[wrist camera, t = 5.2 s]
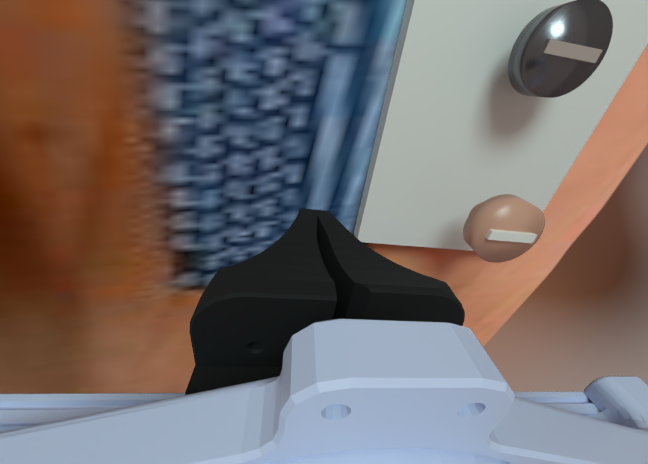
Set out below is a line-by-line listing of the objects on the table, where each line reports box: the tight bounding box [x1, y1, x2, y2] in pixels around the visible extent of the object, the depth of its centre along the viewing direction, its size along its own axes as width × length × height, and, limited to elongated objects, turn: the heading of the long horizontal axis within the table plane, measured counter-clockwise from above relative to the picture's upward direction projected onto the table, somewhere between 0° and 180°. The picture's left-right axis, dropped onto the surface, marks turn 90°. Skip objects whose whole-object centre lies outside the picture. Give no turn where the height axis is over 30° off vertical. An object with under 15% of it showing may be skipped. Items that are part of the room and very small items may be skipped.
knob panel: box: [354, 0, 648, 251], centre depth 20 cm, size 20×16×2 cm
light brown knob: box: [463, 194, 545, 262], centre depth 18 cm, size 4×4×3 cm
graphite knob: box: [508, 0, 613, 98], centre depth 15 cm, size 4×4×3 cm
